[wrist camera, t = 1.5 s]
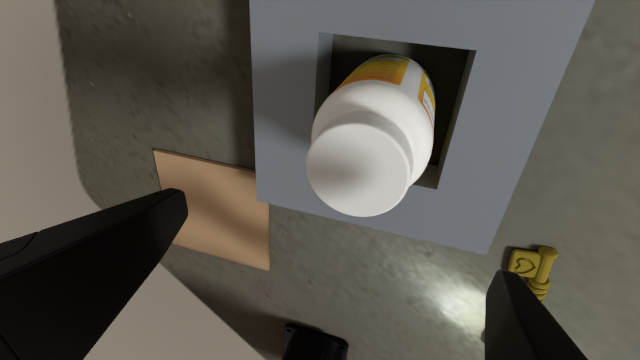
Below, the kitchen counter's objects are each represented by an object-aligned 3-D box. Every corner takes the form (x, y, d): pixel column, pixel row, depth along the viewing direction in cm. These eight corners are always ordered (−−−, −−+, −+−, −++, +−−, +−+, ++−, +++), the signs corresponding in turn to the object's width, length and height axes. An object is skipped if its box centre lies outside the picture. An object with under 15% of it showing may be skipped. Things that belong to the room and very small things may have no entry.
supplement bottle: (329, 106, 22) (264, 179, 14) (380, 32, 19) (335, 70, 11) (395, 156, 22) (369, 254, 14) (456, 90, 19) (466, 168, 11)
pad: (269, 267, 31) (267, 270, 31) (175, 241, 34) (172, 243, 33) (268, 173, 26) (265, 175, 26) (156, 148, 28) (153, 150, 28)
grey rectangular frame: (481, 225, 23) (486, 255, 21) (274, 180, 26) (256, 200, 24) (585, -40, 15) (613, -44, 13) (273, -58, 19) (246, -64, 16)
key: (512, 250, 22) (604, 263, 21) (509, 238, 23) (596, 249, 22) (482, 360, 28) (552, 376, 27) (480, 346, 29) (548, 360, 28)
